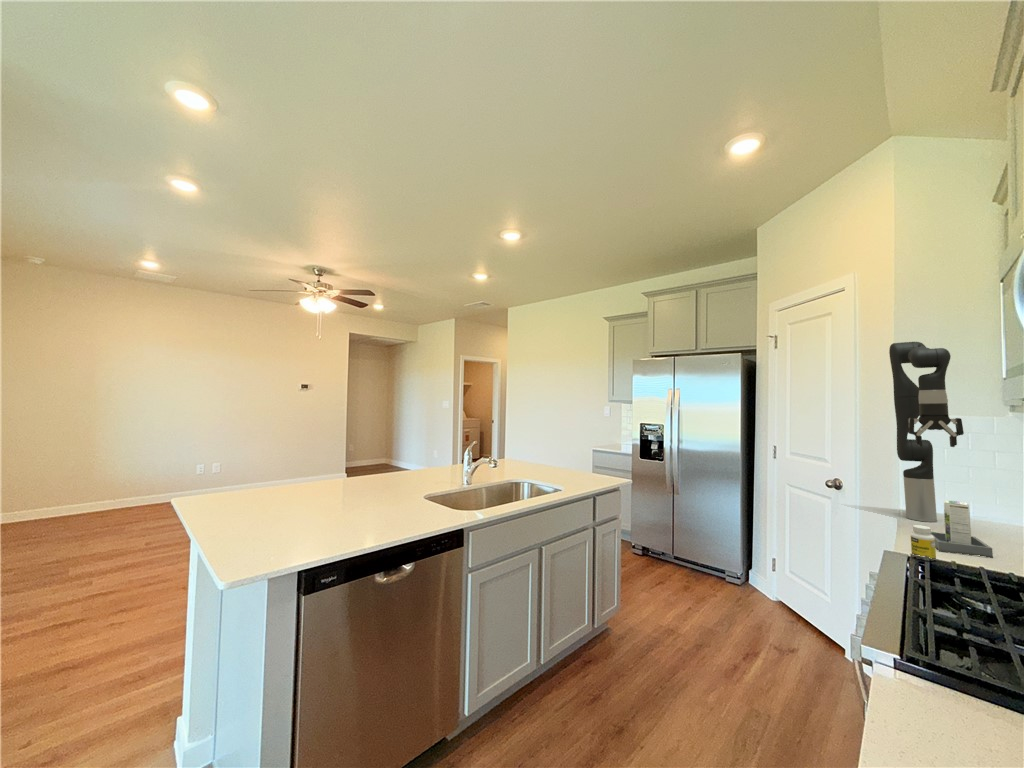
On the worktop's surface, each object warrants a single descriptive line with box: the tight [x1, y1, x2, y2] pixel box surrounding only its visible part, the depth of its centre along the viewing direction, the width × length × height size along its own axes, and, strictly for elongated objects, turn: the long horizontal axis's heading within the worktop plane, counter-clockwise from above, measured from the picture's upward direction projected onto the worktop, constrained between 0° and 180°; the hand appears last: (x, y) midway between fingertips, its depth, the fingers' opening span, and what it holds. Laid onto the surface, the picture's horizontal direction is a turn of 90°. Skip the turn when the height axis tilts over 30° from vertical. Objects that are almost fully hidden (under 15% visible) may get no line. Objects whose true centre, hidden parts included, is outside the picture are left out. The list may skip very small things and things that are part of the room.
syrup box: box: [943, 499, 972, 545], centre depth 139 cm, size 6×6×14 cm
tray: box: [930, 531, 994, 559], centre depth 139 cm, size 14×12×3 cm
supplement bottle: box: [910, 524, 937, 560], centre depth 130 cm, size 5×5×10 cm
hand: (936, 446), depth 154 cm, fingers open, 8 cm apart
